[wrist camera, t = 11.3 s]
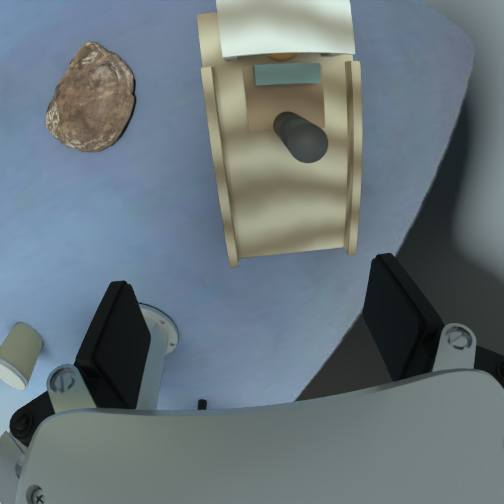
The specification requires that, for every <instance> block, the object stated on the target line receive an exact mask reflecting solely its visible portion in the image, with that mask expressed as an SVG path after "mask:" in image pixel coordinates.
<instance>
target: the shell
mask: <svg viewBox="0 0 504 504" xmlns="http://www.w3.org/2000/svg"><path fill="white" fill-rule="evenodd" d="M134 92H135V80H134V78H133V74H132V72H131V70H130V69H129V68H128V66H127V65H126V64H125V63H124V61H122V60H121V59H120V58H119V57H118V56H117V55H116V54H114V53H112V52H109V51H107V50H106V49H104V48H103V47H102V46H100V45H98V44H97V43H92V42H87V43H86V44H84V45H83V46H82V47H81V48H80V49H79V51H78V52H77V53H76V55H75V56H74V58H73V60H72V62H70V65H69V67H68V69H67V71H66V72H65V74H64V76H63V77H62V79H61V80H60V81H59V83H58V85H57V87H56V89H55V95H54V97H53V99H52V101H51V103H50V104H49V106H48V110H47V113H46V119H45V123H46V127H47V129H48V130H49V131H50V132H51V134H52V135H53V136H54V137H55V138H56V139H57V140H59V141H60V142H61V143H62V144H64V145H65V146H66V147H68V148H74V149H78V150H79V151H81V152H88V153H90V152H100V151H101V150H103V149H105V148H107V147H108V146H110V145H111V146H112V145H113V144H114V143H115V142H116V141H117V140H118V139H119V138H120V137H121V135H122V134H123V133H124V131H125V130H126V128H127V125H128V123H129V121H130V119H131V117H132V115H133V112H134V108H135V103H136V99H135V96H134Z"/></svg>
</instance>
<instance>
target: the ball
mask: <svg viewBox="0 0 504 504" xmlns="http://www.w3.org/2000/svg"><path fill="white" fill-rule="evenodd" d="M266 55H268V56H269V57H270V58H272V59H275V60H279V61H285V60H290V59H292V58H294V57H295V56H297V55H298V53H279V54H266Z"/></svg>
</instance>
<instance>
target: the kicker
mask: <svg viewBox="0 0 504 504" xmlns="http://www.w3.org/2000/svg"><path fill="white" fill-rule="evenodd" d="M242 70H243V79H244V88H245V98H246V107H247V116H248V126H249V133H255V132H266V131H275V133H276V134H277V135H278V137H279V138H280V139H281V141H282V142H283V143H284V145H285V146H286V147H287V149H288V150H289V152H290V153H291V154H292V156H293V157H294V158H295V159H296V160H298V161H300V162H303V163H314V162H317V161H318V160H320V159H321V158H322V157H323V156H324V155H325V154H326V152H327V149H328V138H327V135H326V133H325V132H324V131H323V130H322V129H321V128H325V111H324V92H323V77H322V65H320V63H285V64H265V65H254V66H253V67H249V68H242Z"/></svg>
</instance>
